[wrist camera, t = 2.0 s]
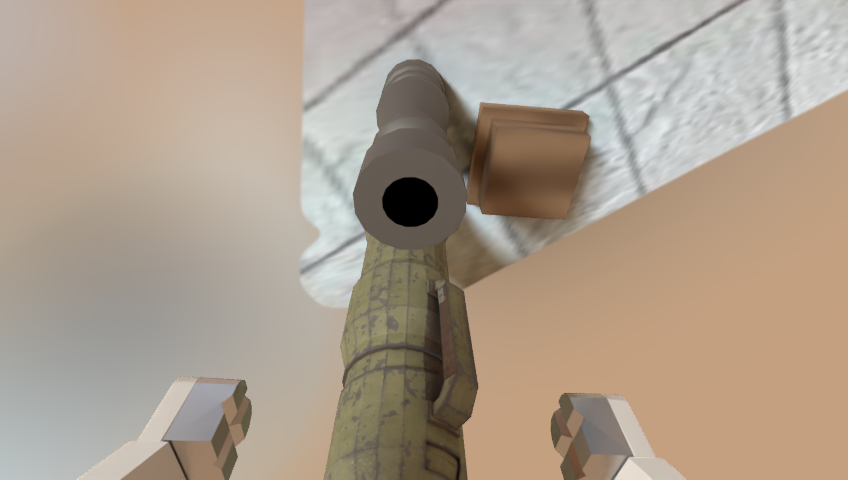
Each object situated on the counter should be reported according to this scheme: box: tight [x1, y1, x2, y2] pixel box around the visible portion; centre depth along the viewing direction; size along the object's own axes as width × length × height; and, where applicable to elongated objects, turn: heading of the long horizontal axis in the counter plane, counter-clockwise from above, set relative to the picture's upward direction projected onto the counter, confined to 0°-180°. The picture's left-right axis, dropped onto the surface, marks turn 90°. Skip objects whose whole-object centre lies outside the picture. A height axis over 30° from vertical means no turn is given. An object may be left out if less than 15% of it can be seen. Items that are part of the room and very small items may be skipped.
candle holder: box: [353, 60, 467, 250], centre depth 30 cm, size 6×6×25 cm
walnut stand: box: [466, 102, 591, 220], centre depth 42 cm, size 11×11×6 cm
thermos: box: [324, 231, 478, 480], centre depth 33 cm, size 9×12×35 cm
